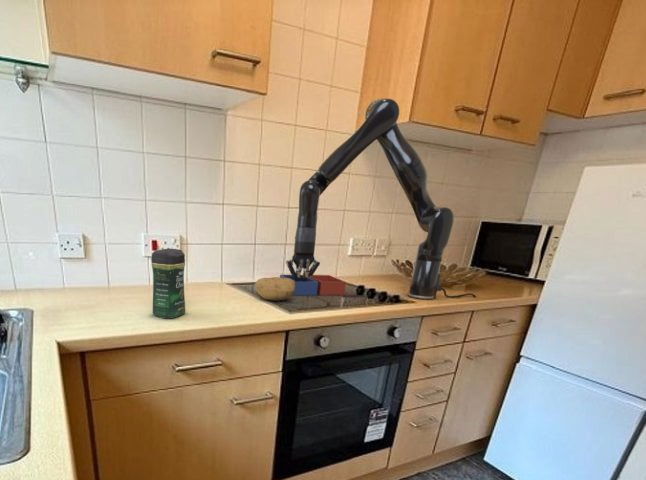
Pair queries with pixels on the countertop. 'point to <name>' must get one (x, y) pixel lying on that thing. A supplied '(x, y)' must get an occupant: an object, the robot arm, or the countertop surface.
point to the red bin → (329, 285)
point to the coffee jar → (168, 283)
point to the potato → (275, 288)
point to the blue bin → (303, 286)
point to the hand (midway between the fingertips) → (300, 286)
